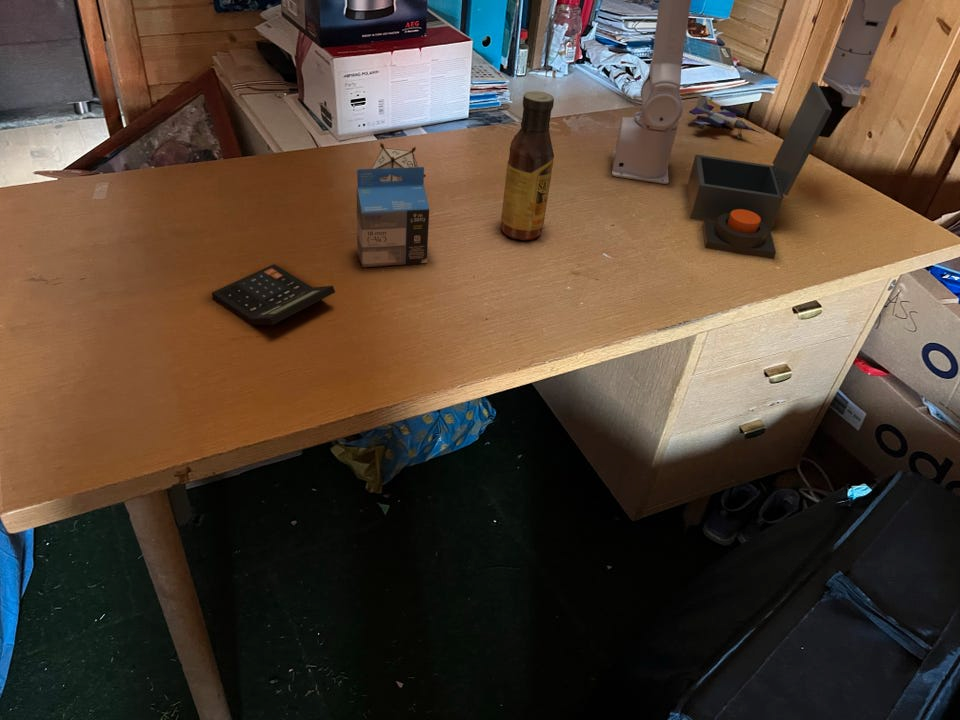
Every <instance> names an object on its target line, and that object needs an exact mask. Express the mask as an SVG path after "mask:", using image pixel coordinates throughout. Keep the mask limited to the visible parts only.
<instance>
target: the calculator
mask: <svg viewBox="0 0 960 720" xmlns="http://www.w3.org/2000/svg"><path fill="white" fill-rule="evenodd" d="M335 293H336V290H335V287H334V285H327V286H315V287H314V286H313V287H312V286H311V285H309V284H308V283H306V282H304V281H303V280H301V279H300V278H298V277H297V276H295V275H293V274H291V273H290V272H288V271H287V270H285V269H283V268H282V267H280V266H278V265H277V264H275V263H273V264H271V265H269V266H266V267H264V268H262V269H260V270H258V271H256V272H254V273H251V274H249V275H246V276H244V277H243V278H240V279H239V280H236V281H234V282H232V283H230V284H227V285H225V286H223V287H221V288H219V289H216V290H214V291H212V292H211V296H212V300H214V301H216V302H217V303H219V304H220V305H222V306H223V307H224V308H226V309H228V310H229V311H230V312H232V313H233V314H235V315H236V316H238V317H239V318H240V319H242V320H244V321H245V322H246V323H248V324H249V325H250V326H273V325H276V324H278V323H279V322H281V321H283V320H285V319H287V318H289V317H291V316H293V315H294V314H297V313H299V312H300V311H302V310H304V309H307V308H308V307H310V306H312V305H314V304H316V303H317V302H320V301H322V300H324V299H325V298H328V297H329V296H331V295H333V294H335Z"/></svg>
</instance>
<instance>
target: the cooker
mask: <svg viewBox="0 0 960 720" xmlns="http://www.w3.org/2000/svg"><path fill="white" fill-rule="evenodd" d="M686 192H687V193H686V194H687V203H688V213H689V219H690V220H696V221H697V220H698V221H702V222H704V219H706V220H712V221H717V218H718V217H720V216H721V215H722V214H724V213H731V212H732V211H733V210H736V209H743V210H748V211H751V212H754V213H756V214H757V215H758V216H759V217H760V218H761V221H762V222H763V223H764V224H766V225H767V228H768V229H770V232H773V227H774V225H775V223H776V220H777V217H778V215H779V212H780V209H781V206H782V204H783V201H784V198H785V197H784V194H782V190H781V187H780V184H779V181H778V178H777V175H776V171H775V168H774V165H771V164H765V163H757V162H750V161H744V160H737V159H730V158H723V157H716V156H712V155H711V156H710V155H703V154H697V153H696V154H695V156H694V160H693V163H692V166H691V170H690V174H689V177H688V181H687V184H686Z"/></svg>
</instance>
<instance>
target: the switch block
mask: <svg viewBox="0 0 960 720" xmlns="http://www.w3.org/2000/svg"><path fill="white" fill-rule="evenodd" d="M729 216H730V213H724V214H722V215H721V216H720V217H718V218H717V221H712V220H706V219H704V221H702V225H701V228H702V235H703V244H704V249H709V250H715V251H721V252H726V253H733V254H740V255H747V256H752V257H758V258H765V259H771V260H774V259H775V257H776V253H777V251H776V246H775V243H774V240H773V239H774V238H773V236H772V231H770V229H768V228H767V225H766V224H764V223H763V222H762V221H760V224H759V227H758V230H757V232H756V233H749V234H748V233H742V232H738V231H736V230H733V229H731V228H730V227H729V226H728V225H727V222H728V219H729Z"/></svg>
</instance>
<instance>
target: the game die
mask: <svg viewBox="0 0 960 720" xmlns="http://www.w3.org/2000/svg"><path fill="white" fill-rule="evenodd" d="M379 143H380V144H379V146H380V148H381V150H380V152H379V154H378V155H377V157H376V159H375V161H374V163H373V165H372V166H371V168H370V169H376V168H409V167H419V164H418V162H417V159H416V157H415V153H414V152H415V151H416V150H417V147H416V146H414V147H412V148H411V150H405V149H398V148H389V147H385V145H384V143H382V142H379ZM426 177H427V175H426V173H424V178H426ZM401 180H402V177H394V175H392V174H390V175H389V176H388V177H382V178H380V181H401Z"/></svg>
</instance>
